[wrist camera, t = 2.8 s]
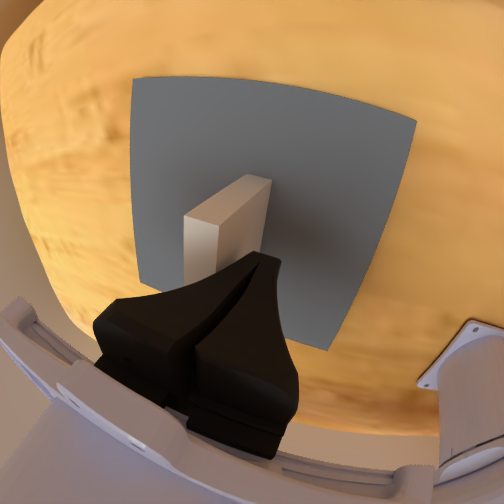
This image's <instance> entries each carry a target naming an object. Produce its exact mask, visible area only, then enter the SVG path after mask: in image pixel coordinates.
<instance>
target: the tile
mask: <svg viewBox="0 0 504 504" xmlns="http://www.w3.org/2000/svg"><path fill="white" fill-rule="evenodd" d="M271 184H272V180H271V179H267V178H263V177H259V176H255V175H251V174H246V175H244V176H243V177H241V178H239V179H238V180H236V181H235V182H233V183H232V184H230V185H228V186H227V187H225V188H224V189H222V190H221V191H219V192H218V193H216V194H215V195H213V196H212V197H210V198H209V199H207V200H206V201H204V202H203V203H201V204H200V205H198V206H197V207H195V208H194V209H192V210H191V211H189V212H188V213H187V214H185V215H184V286H187V285H190V284H192V283H195V282H197V281H200V280H202V279H204V278H206V277H208V276H210V275H212V274H214V273H216V272H218V271H220V270H222V269H224V268H225V267H227V266H229V265H231V264H232V263H234V262H236V261H237V260H239V259H240V258H242V257H244V256H245V255H247V254H248V253H250V252H252V251H257V252H260V247H261V241H262V236H263V230H264V224H265V219H266V213H267V207H268V201H269V196H270V190H271Z"/></svg>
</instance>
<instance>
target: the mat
mask: <svg viewBox="0 0 504 504" xmlns="http://www.w3.org/2000/svg"><path fill="white" fill-rule="evenodd" d="M416 123H417V121H416V120H413V119H410V118H408V117H405V116H402V115H400V114H397V113H394V112H391V111H388V110H385V109H382V108H379V107H376V106H373V105H370V104H366V103H363V102H360V101H356V100H352V99H349V98H345V97H341V96H337V95H333V94H329V93H324V92H320V91H315V90H310V89H305V88H300V87H294V86H288V85H282V84H276V83H268V82H261V81H252V80H242V79H230V78H214V77H153V78H137V79H133V84H132V98H131V118H130V178H131V199H132V214H133V226H134V237H135V247H136V255H137V263H138V271H139V278H140V282H141V283H143V284H146V285H148V286H150V287H152V288H155V289H157V290H159V291H162V292H167V291H170V290H174V289H177V288H180V287H184V215H185V214H187V213H188V212H189V211H191V210H192V209H194V208H195V207H197V206H198V205H200V204H201V203H203V202H204V201H206V200H207V199H209V198H210V197H212V196H213V195H215V194H216V193H218V192H219V191H221V190H222V189H224V188H225V187H227V186H228V185H230V184H232V183H233V182H235V181H236V180H238V179H239V178H241V177H243V176H244V175H246V174H251V175H255V176H259V177H263V178H267V179H271V180H272V184H271V190H270V196H269V201H268V207H267V213H266V219H265V224H264V230H263V236H262V241H261V247H260V253H263V254H266V255H269V256H273V257H276V258H279V259H280V260H281V261H282V262H281V267H280V271H279V275H278V279H277V300H278V310H279V317H280V322H281V327H282V331H283V335H284V338H287V339H290V340H293V341H296V342H299V343H303V344H306V345H309V346H312V347H316V348H319V349H322V350H326V351H328V349H329V347H330V345H331V344H332V342H333V340H334V338H335V336H336V334H337V332H338V330H339V329H340V327H341V325H342V323H343V321H344V319H345V317H346V315H347V313H348V311H349V309H350V307H351V305H352V302H353V300H354V298H355V296H356V294H357V292H358V290H359V288H360V285H361V283H362V281H363V279H364V276H365V274H366V272H367V270H368V267H369V265H370V263H371V260H372V258H373V255H374V253H375V251H376V248H377V246H378V243H379V241H380V238H381V235H382V233H383V230H384V228H385V225H386V222H387V220H388V217H389V214H390V211H391V208H392V205H393V203H394V200H395V197H396V194H397V191H398V188H399V184H400V181H401V178H402V175H403V172H404V168H405V165H406V161H407V158H408V154H409V151H410V147H411V143H412V139H413V135H414V131H415V127H416Z"/></svg>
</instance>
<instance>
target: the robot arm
mask: <svg viewBox="0 0 504 504" xmlns="http://www.w3.org/2000/svg"><path fill="white" fill-rule="evenodd" d="M281 262H282V261H281V260H280V259H279V258H276V257H273V256H269V255H266V254H263V253H260V252H257V251H252V252H250V253H248V254H247V255H245V256H244V257H242V258H240V259H239V260H237V261H236V262H234V263H232V264H231V265H229V266H227V267H225V268H224V269H222V270H220V271H218V272H216V273H214V274H212V275H210V276H208V277H206V278H204V279H202V280H200V281H197V282H195V283H192V284H190V285H187V286H184V287H180V288H177V289H174V290H170V291H167V292H162V293H158V294H153V295H147V296H141V297H132V298H122V299H116V300H115V301H114V302H113V303H111V304H110V305H109V306H108V307H107V308H106V309H105V310H104V311H103V312H102V313H101V314H100V315H99V316H98V317H97V318H96V319H95V320H94V322H93V331H94V334H95V337H96V339H97V342H98V344H99V346H100V348H101V351H102V353H103V355H102V356H101V357H100V358H99V359H98V360H97V362H96V363H94V362H92V361H91V360H89V359H88V358H87V357H85V356H84V355H83V354H81V353H80V352H79V351H77V350H76V349H75V348H73V347H72V346H71V345H69V344H68V343H67V342H66V341H64V340H63V339H61V338H60V337H59V336H58V335H57V334H56V333H54V332H53V331H52V330H51V329H50V328H49V327H47V326H46V325H45V324H44V323H43V322H42V321H40V320H39V319H38V316H37V314H36V312H35V310H34V308H33V307H32V305H31V304H30V303H29V302H27V301H26V300H25V299H24V298H23V297H22V296H21V295H19V296H18V297H17V298H16V299H15V300H13V301H12V302H11V303H10V304H9V305H8V306H7V307H5V308H4V309H3V310H2V311H1V312H0V343H1V344H2V346H3V347H4V349H5V350H6V352H7V353H8V354H9V356H10V357H11V358H12V359H13V361H14V362H15V363H16V364H17V365H18V367H19V368H20V369H21V370H22V371H23V372H24V373H25V375H26V376H27V377H28V378H29V379H30V380H31V381H32V382H33V383H34V384H35V385H36V386H37V387H38V389H40V390H41V392H43V394H44V395H45V396H47V398H49V400H50V401H52V403H51V404H50V405H49V406H48V408H47V409H46V410H45V411H44V413H43V414H42V415H41V416H40V418H39V419H38V420H37V422H36V423H35V424H34V425H33V426H32V428H31V429H30V430H29V431H28V433H27V434H26V435H25V437H24V438H23V439H22V441H21V442H20V443H19V445H18V446H17V447H16V449H15V450H14V451H13V453H12V454H11V455H10V457H9V458H8V459H7V461H6V462H5V464H4V465H3V466H2V468H1V469H0V504H504V329H501V328H497V327H494V326H491V325H488V324H485V323H481V322H478V321H475V320H470V321H468V322H467V323H466V324H465V325H464V327H463V328H462V329H461V331H460V332H459V333H458V335H457V336H456V337H455V338H454V340H453V341H452V342H451V343H450V345H449V346H448V347H447V348H446V350H445V351H444V352H443V353H442V354H441V356H440V357H439V358H438V359H437V360H436V361H435V362H434V364H433V365H432V366H431V367H430V368H429V369H428V370H427V371H426V372H425V373H424V375H423V376H422V377H421V378H420V379H419V380H418V381H417V387H420V388H425V389H431V390H437V391H438V401H439V422H440V453H439V469H437V470H435V466H434V465H406V466H402V467H400V468H398V469H397V470H395V471H389V470H378V469H368V468H360V467H353V466H346V465H340V464H334V463H329V462H324V461H319V460H314V459H310V458H306V457H301V456H297V455H293V454H289V453H286V452H282V451H279V450H278V447H279V444H280V441H281V439H282V437H283V435H284V433H285V430H286V427H287V425H288V423H289V422H290V421H291V419H292V418H293V416H294V415H295V413H296V411H297V408H298V402H299V381H298V373H297V370H296V368H295V366H294V364H293V361H292V359H291V356H290V354H289V351H288V348H287V345H286V342H285V338H284V335H283V331H282V327H281V322H280V317H279V310H278V300H277V279H278V275H279V271H280V267H281ZM474 328H475V329H474ZM434 470H435V471H434Z"/></svg>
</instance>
